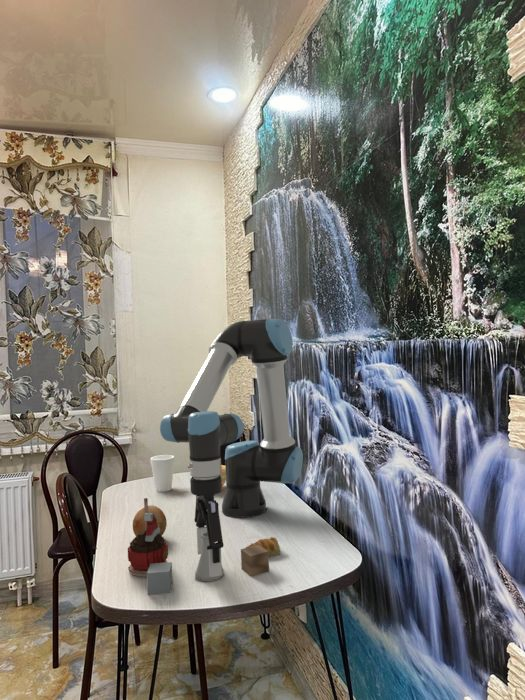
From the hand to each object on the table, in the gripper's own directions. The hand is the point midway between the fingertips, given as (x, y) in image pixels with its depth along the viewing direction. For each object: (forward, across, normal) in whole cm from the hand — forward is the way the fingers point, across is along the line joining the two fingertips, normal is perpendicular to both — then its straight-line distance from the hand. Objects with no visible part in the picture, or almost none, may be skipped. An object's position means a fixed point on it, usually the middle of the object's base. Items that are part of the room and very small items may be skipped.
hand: (209, 563), depth 116 cm
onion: (+3, -29, -11) cm, 31 cm away
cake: (+3, -9, -14) cm, 17 cm away
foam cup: (+3, -83, 0) cm, 83 cm away
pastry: (+3, -6, +16) cm, 18 cm away
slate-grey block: (+3, +2, -12) cm, 12 cm away
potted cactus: (+3, -74, +18) cm, 76 cm away
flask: (+3, 0, 0) cm, 3 cm away
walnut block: (+3, +2, +11) cm, 12 cm away
